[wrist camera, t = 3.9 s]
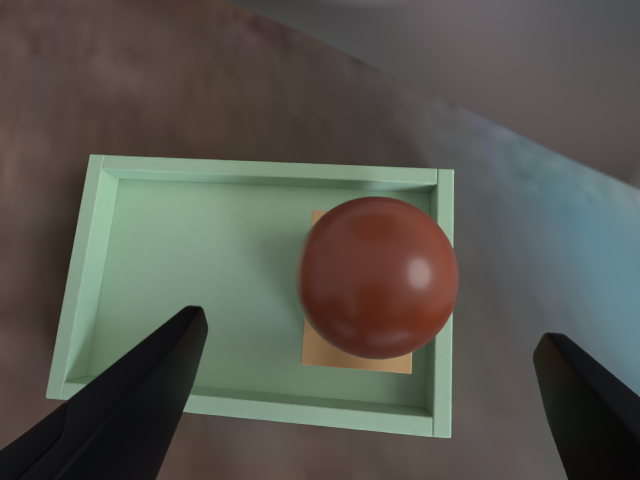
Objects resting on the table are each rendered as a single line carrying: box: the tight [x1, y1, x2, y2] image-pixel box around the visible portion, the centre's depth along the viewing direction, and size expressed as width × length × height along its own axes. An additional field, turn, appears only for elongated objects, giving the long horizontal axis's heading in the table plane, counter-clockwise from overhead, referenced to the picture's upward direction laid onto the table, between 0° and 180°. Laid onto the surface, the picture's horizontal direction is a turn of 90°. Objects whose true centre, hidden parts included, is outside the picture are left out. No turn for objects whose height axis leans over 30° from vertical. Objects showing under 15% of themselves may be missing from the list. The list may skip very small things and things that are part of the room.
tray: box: [46, 154, 454, 438], centre depth 18 cm, size 19×12×2 cm, turn 86°
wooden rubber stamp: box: [295, 196, 459, 374], centre depth 12 cm, size 4×6×13 cm
